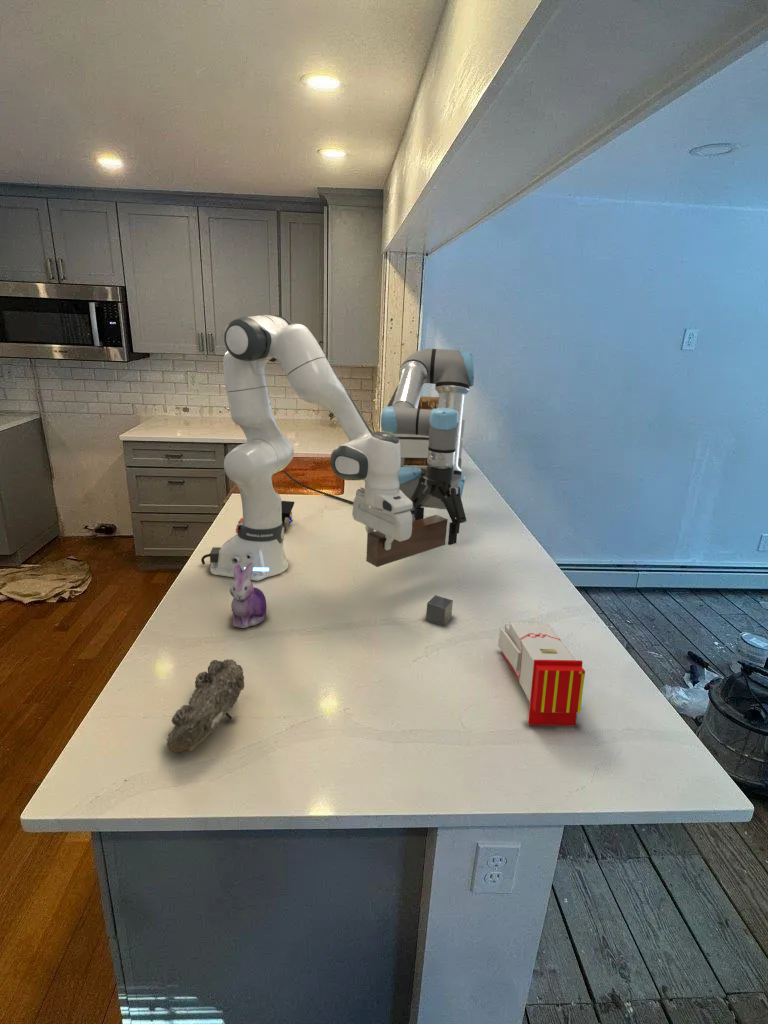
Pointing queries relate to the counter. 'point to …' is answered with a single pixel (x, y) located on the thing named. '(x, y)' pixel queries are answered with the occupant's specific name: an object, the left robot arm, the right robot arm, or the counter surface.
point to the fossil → (206, 705)
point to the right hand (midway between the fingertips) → (434, 536)
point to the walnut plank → (408, 541)
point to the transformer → (419, 438)
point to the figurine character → (287, 513)
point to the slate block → (439, 610)
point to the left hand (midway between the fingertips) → (379, 545)
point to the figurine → (246, 599)
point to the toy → (544, 672)
